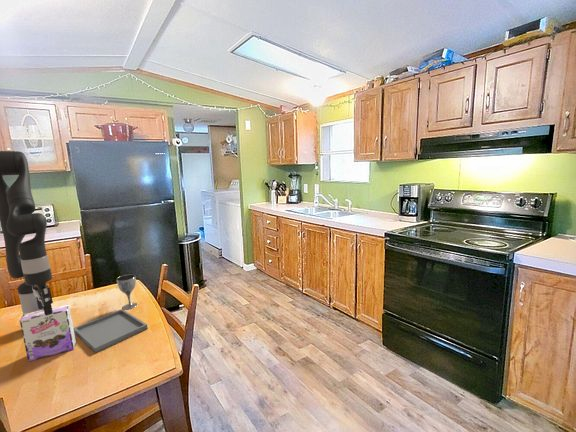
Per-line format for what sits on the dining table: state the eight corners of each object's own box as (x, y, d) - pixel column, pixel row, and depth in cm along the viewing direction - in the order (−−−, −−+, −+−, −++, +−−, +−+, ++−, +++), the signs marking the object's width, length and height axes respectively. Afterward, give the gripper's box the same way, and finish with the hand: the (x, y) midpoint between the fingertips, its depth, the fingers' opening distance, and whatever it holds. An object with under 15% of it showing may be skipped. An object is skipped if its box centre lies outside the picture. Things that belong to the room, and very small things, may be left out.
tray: (74, 332, 124) (73, 328, 124) (122, 312, 139) (122, 309, 139) (95, 353, 109) (94, 348, 109) (147, 328, 125) (147, 324, 124)
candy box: (27, 362, 106) (18, 320, 103) (32, 353, 111) (23, 312, 108) (74, 350, 112) (66, 309, 109) (76, 341, 117) (69, 303, 114)
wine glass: (131, 310, 141) (127, 281, 138) (117, 309, 143) (112, 280, 140) (142, 302, 149) (138, 274, 146) (128, 301, 150) (124, 273, 147)
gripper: (55, 269, 104) (64, 312, 107) (44, 262, 113) (52, 302, 116) (28, 276, 98) (37, 321, 101) (18, 268, 107) (27, 310, 110)
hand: (45, 311), depth 108 cm, fingers open, 8 cm apart
